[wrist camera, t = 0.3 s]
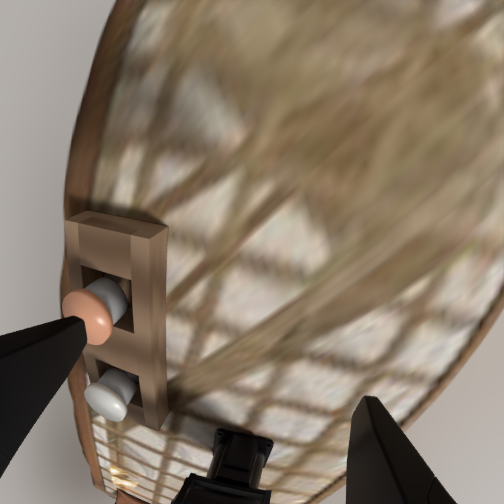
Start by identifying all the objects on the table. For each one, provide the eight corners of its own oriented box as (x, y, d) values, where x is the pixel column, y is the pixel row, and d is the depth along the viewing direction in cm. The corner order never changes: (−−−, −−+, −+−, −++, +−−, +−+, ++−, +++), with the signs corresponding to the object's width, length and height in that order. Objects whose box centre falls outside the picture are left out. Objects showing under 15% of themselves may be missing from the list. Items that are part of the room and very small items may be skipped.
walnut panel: (168, 412, 31) (158, 431, 28) (109, 389, 32) (97, 405, 29) (168, 226, 23) (149, 239, 20) (87, 210, 24) (64, 219, 21)
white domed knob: (141, 403, 27) (126, 427, 24) (106, 388, 28) (89, 410, 25) (138, 374, 26) (120, 399, 22) (99, 358, 26) (80, 381, 23)
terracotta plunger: (133, 327, 24) (111, 352, 20) (91, 312, 24) (67, 333, 21) (130, 280, 22) (104, 303, 19) (86, 267, 23) (58, 286, 19)
